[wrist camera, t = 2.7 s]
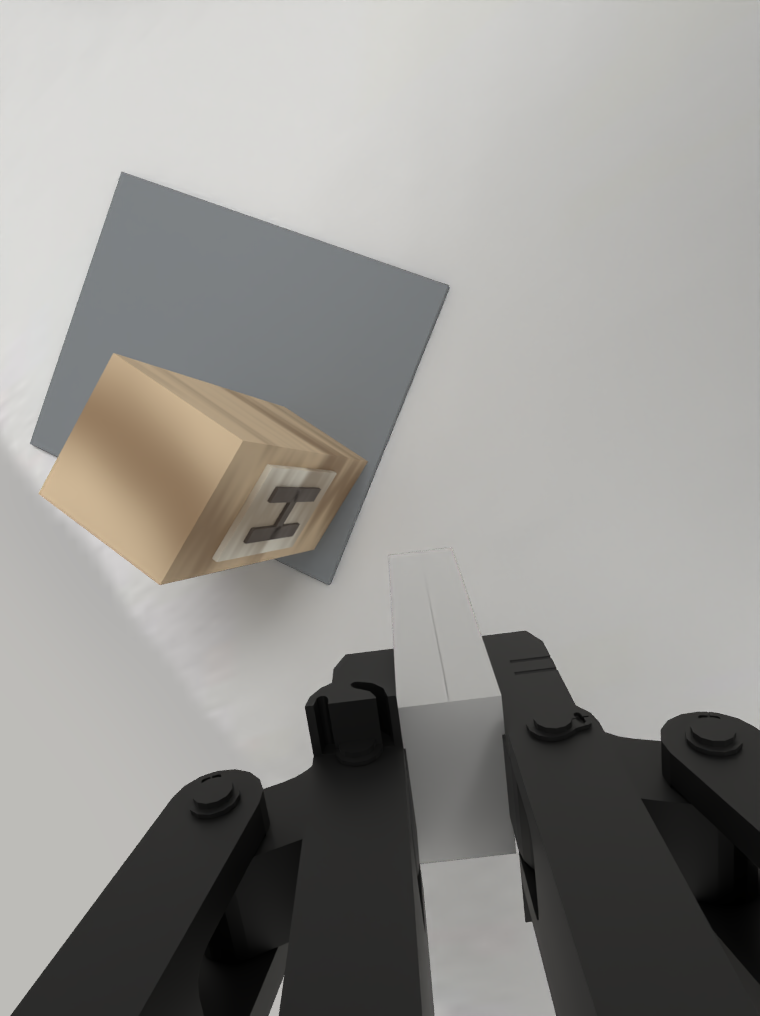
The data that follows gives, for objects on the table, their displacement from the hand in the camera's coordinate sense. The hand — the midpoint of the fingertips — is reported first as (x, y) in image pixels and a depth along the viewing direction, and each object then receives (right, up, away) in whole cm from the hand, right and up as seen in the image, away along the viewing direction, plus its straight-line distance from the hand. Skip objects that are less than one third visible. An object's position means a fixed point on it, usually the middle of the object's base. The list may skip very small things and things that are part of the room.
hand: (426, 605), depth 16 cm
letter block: (-6, +4, +24) cm, 25 cm away
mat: (-10, +11, +25) cm, 29 cm away
